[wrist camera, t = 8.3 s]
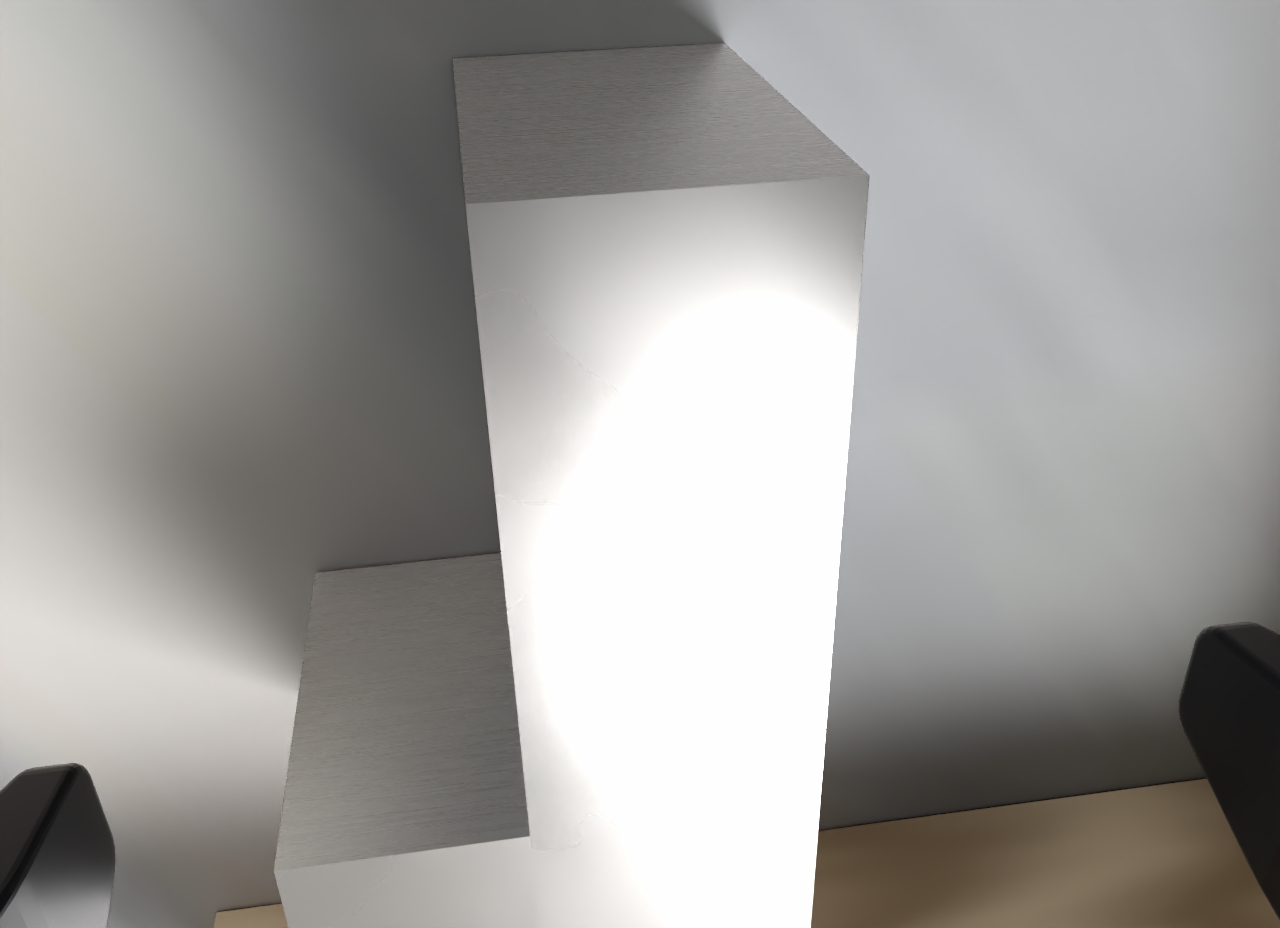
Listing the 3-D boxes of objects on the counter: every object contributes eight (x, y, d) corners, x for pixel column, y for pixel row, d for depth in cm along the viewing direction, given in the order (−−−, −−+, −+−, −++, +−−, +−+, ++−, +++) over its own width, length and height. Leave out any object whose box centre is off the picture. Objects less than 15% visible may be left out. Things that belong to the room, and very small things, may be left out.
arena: (2102, -1103, 10) (2976, -1562, 6) (1334, 817, 22) (1501, 1012, 18) (-473, -1287, 8) (-1213, -2149, 4) (235, 972, 19) (192, 1228, 16)
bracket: (716, 667, 18) (808, 952, 13) (343, 712, 17) (315, 1029, 13) (724, 43, 13) (868, 176, 9) (213, 71, 12) (100, 230, 8)
